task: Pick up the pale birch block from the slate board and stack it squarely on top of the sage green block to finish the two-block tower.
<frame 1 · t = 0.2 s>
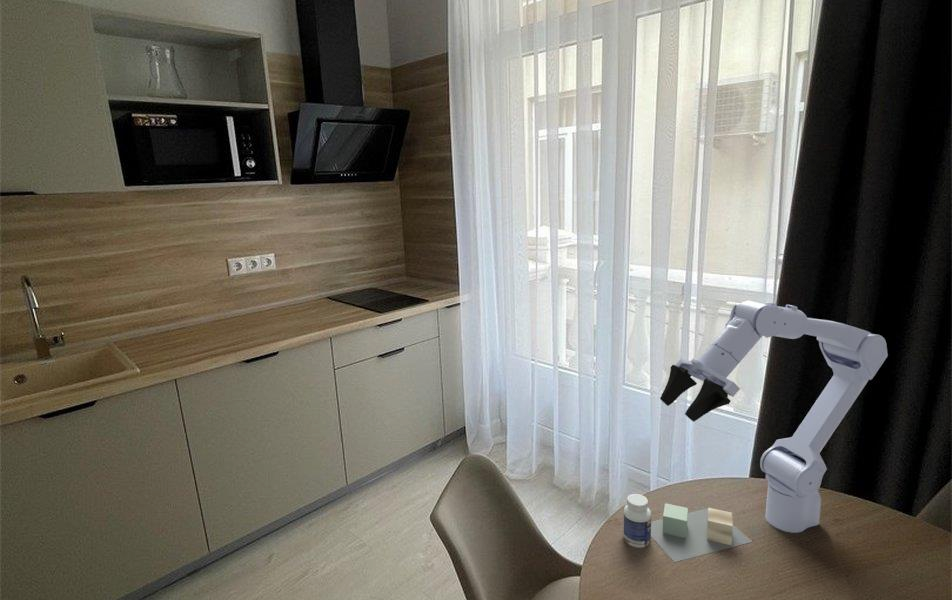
hand: (676, 409, 90), 31 cm above the table, tool tilted 45°, fingers open, 7 cm apart
birch block: (718, 535, 99), point 1 cm above the table, touching board
board: (694, 536, 100), on the table
pill bottle: (636, 542, 100), on the table
sage block: (675, 528, 102), resting on board
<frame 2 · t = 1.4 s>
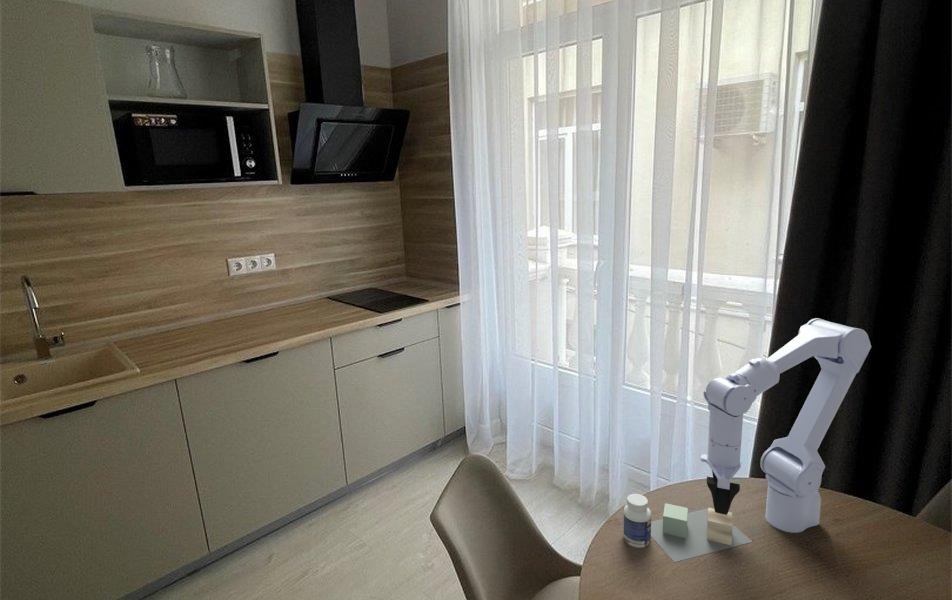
hand: (720, 501, 97), 9 cm above the table, tool pointing down, fingers open, 7 cm apart
nothing on the table moved.
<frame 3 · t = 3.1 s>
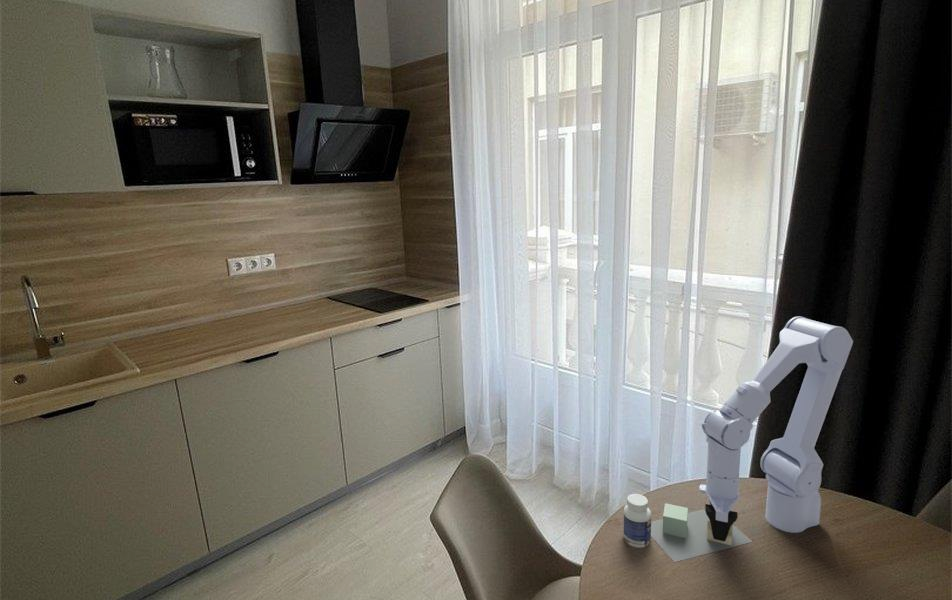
hand: (719, 531, 99), 2 cm above the table, tool pointing down, fingers closed on birch block, 4 cm apart
birch block: (718, 535, 99), point 1 cm above the table, touching board, gripper
everything else where it was.
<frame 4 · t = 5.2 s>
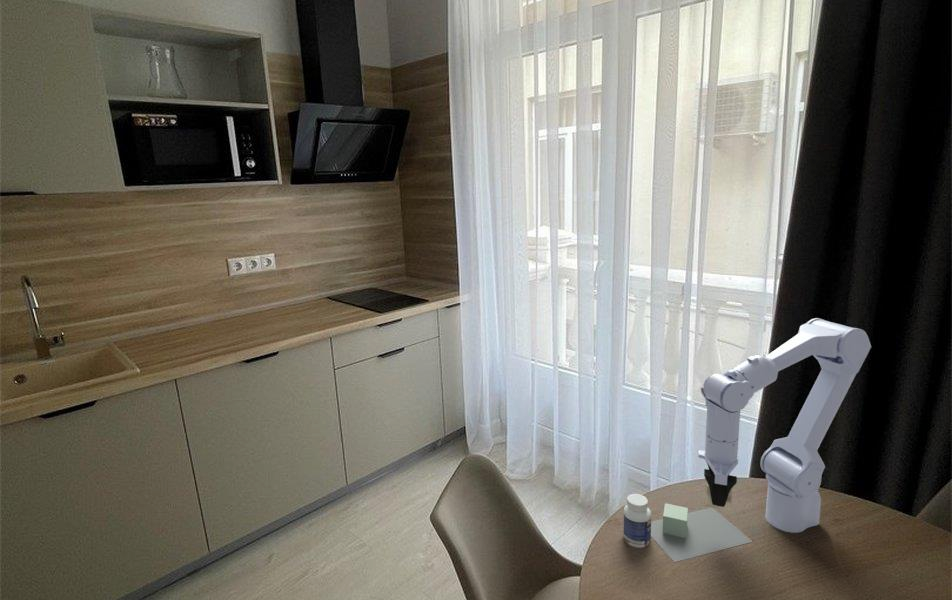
hand: (718, 497, 97), 9 cm above the table, tool pointing down, fingers closed on birch block, 4 cm apart
birch block: (717, 502, 98), point 8 cm above the table, touching gripper
everything else where it was.
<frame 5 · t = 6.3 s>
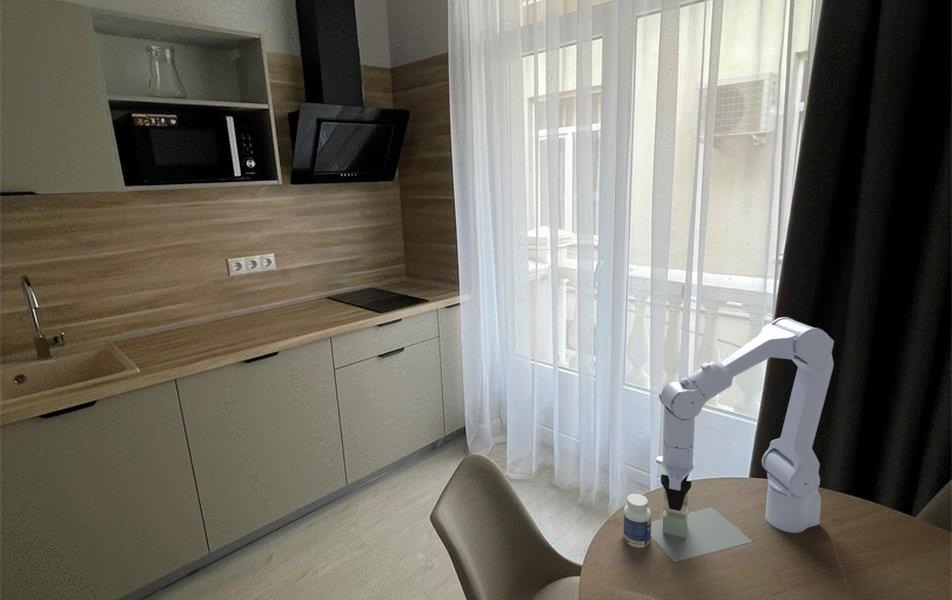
hand: (675, 501, 100), 7 cm above the table, tool pointing down, fingers closed on birch block, 4 cm apart
birch block: (675, 506, 101), point 6 cm above the table, touching gripper
everything else where it was.
when the fingers open (7 cm above the table, at t = 7.3 s): birch block stays where it is, resting on sage block.
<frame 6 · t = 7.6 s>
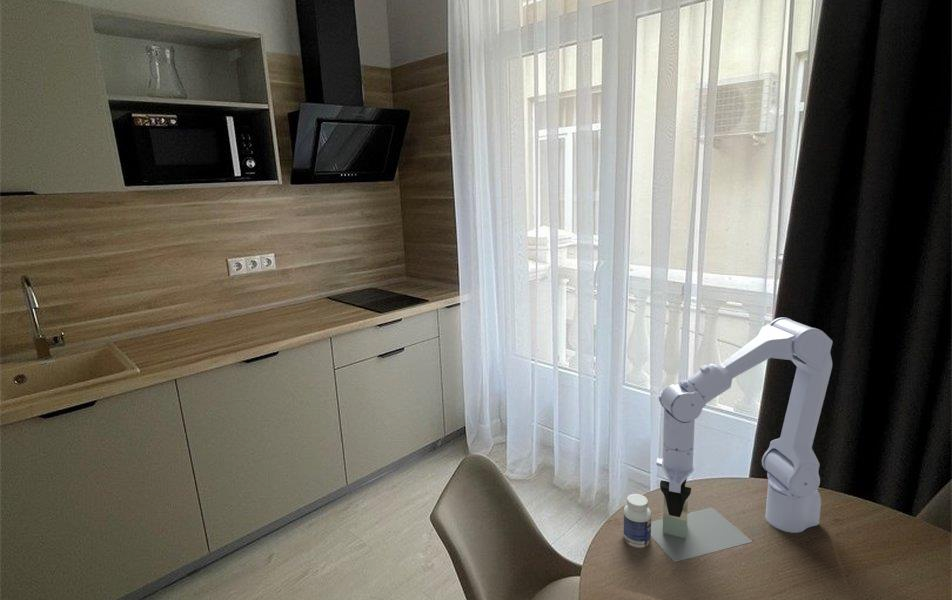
hand: (675, 504, 100), 7 cm above the table, tool pointing down, fingers open, 7 cm apart
birch block: (675, 511, 101), point 5 cm above the table, touching sage block
everything else where it was.
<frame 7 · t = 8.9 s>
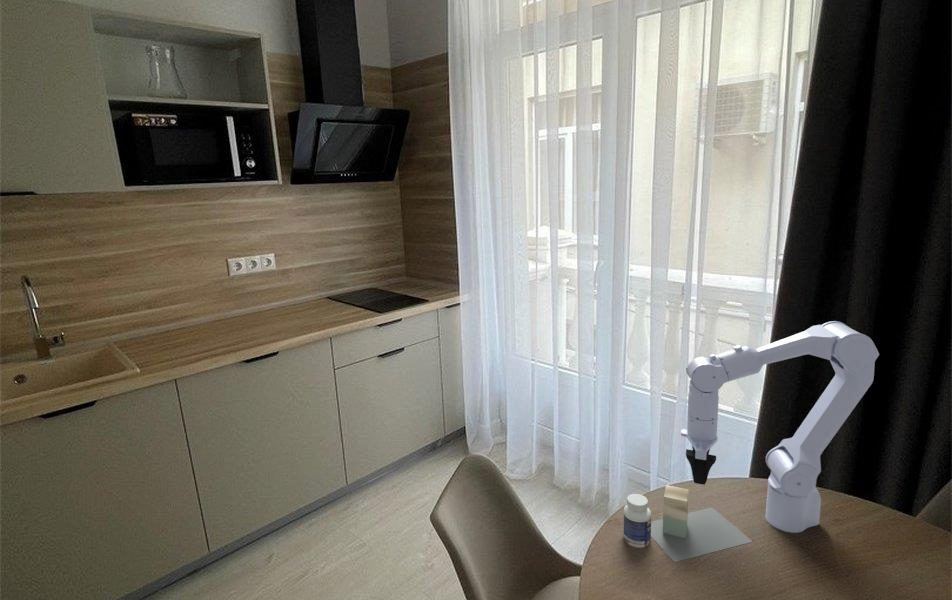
hand: (699, 473, 104), 10 cm above the table, tool pointing down, fingers open, 7 cm apart
nothing on the table moved.
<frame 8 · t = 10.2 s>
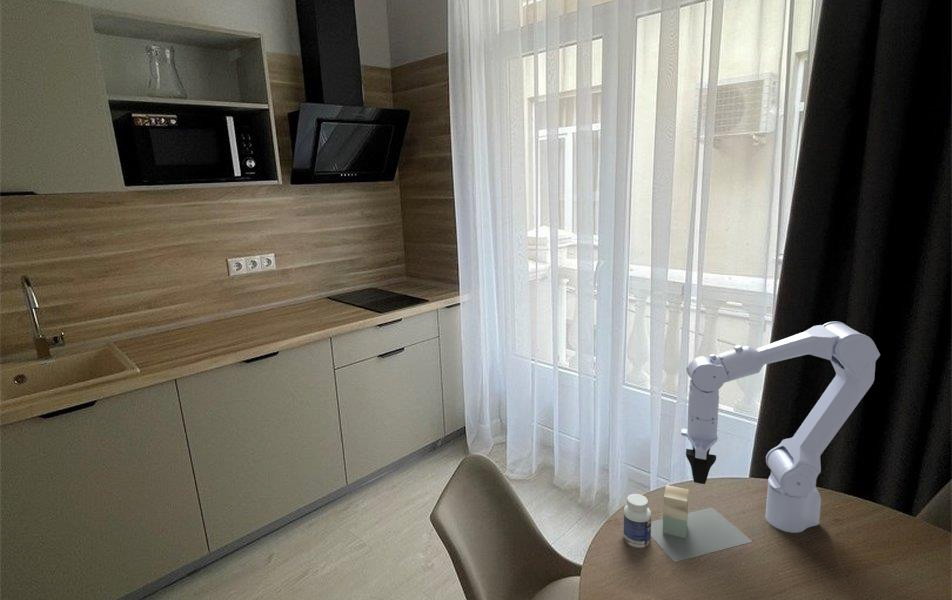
hand: (699, 472, 104), 10 cm above the table, tool pointing down, fingers open, 7 cm apart
nothing on the table moved.
at the end: birch block 0.0 cm off-centre on the sage block, point 4.0 cm above the sage block's base; birch block tilted 0°; the gripper is holding nothing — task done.
